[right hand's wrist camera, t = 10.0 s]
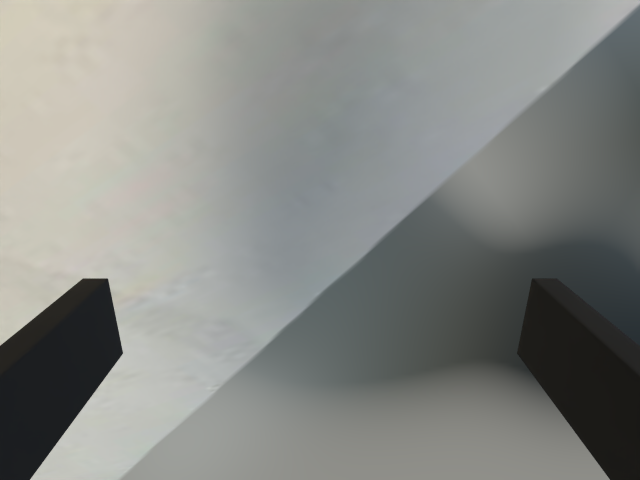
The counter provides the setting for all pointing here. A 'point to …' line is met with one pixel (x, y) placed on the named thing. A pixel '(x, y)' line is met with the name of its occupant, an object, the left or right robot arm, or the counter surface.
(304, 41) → the counter surface
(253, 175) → the counter surface
